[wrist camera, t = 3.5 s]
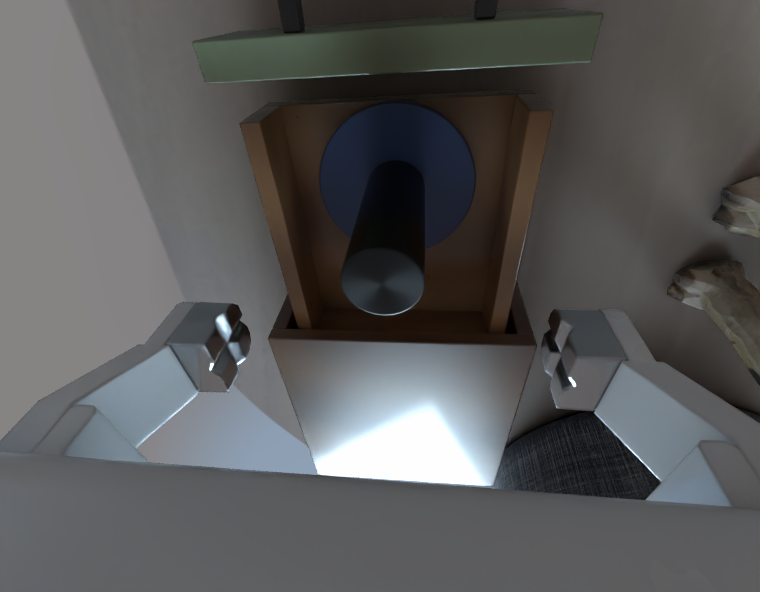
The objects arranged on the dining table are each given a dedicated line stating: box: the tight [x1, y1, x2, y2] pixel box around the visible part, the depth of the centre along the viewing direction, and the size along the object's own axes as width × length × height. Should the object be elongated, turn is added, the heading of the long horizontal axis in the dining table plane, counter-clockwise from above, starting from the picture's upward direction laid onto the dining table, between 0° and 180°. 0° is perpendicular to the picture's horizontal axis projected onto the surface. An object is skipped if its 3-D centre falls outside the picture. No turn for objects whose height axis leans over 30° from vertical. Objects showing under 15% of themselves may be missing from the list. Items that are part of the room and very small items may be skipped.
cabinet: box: [268, 280, 537, 486], centre depth 25 cm, size 16×14×6 cm
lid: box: [319, 100, 476, 315], centre depth 14 cm, size 7×7×8 cm
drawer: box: [193, 0, 603, 334], centre depth 15 cm, size 19×12×4 cm, turn 4°
